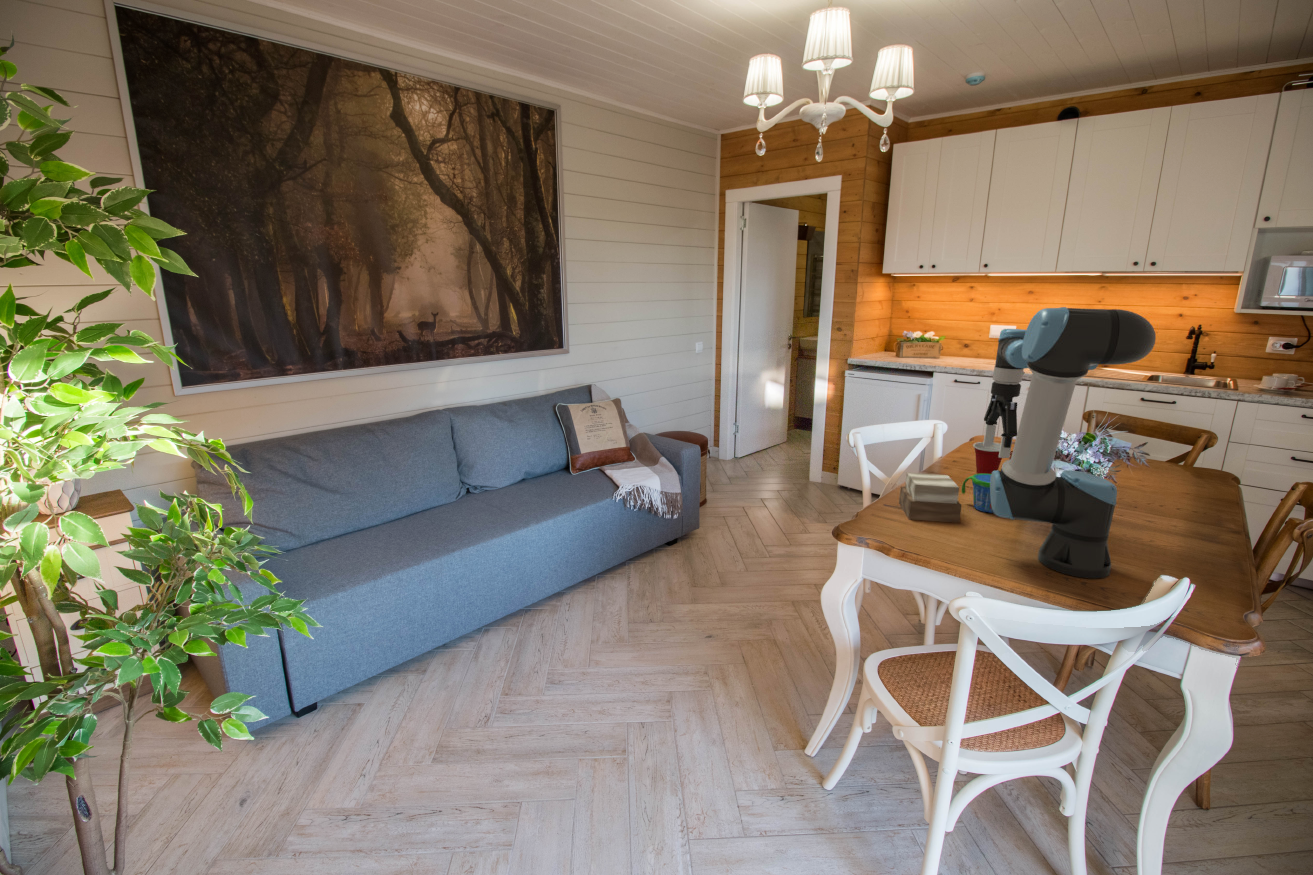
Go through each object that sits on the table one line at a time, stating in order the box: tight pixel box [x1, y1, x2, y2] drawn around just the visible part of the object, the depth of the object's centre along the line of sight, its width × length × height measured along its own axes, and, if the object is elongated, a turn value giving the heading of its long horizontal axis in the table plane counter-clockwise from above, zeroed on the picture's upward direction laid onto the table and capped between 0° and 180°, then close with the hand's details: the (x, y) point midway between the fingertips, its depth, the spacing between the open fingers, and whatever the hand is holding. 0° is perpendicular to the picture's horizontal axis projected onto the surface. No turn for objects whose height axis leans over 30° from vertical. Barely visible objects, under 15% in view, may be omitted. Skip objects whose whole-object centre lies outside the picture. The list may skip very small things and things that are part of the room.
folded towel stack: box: [898, 472, 963, 524], centre depth 188 cm, size 14×14×10 cm
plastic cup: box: [972, 441, 1003, 474], centre depth 224 cm, size 11×11×12 cm
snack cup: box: [961, 473, 995, 514], centre depth 192 cm, size 16×10×10 cm
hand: (995, 451), depth 189 cm, fingers open, 13 cm apart
